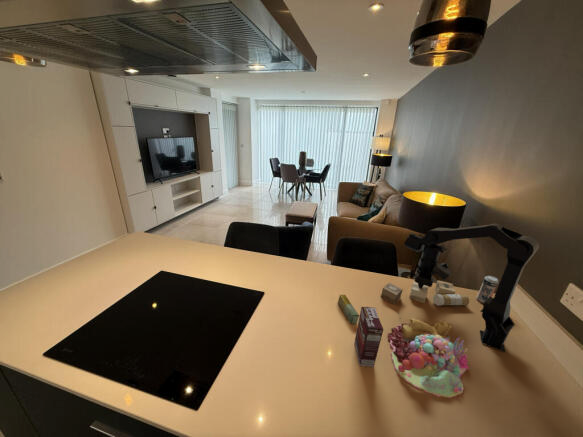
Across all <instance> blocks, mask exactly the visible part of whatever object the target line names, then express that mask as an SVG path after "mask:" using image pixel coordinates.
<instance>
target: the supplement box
mask: <svg viewBox="0 0 583 437" xmlns="http://www.w3.org/2000/svg"><path fill="white" fill-rule="evenodd" d="M359 311H360V313H359V318H358V321H357V327H356V333H355V337H354V343H353V344H354V347H355V351H356V355H357V361H358V365H359V366H362V367H375V365H376V361H377V360H376V359H377V356H378V352H379V347H380V345H381V341H382V336H383V332H384V328H383V325H382V322H381V320H380V318H379V315H378V312H377V311H378V310H377V309H376V307H371V306H361V307H360V310H359Z"/></svg>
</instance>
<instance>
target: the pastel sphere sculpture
mask: <svg viewBox="0 0 583 437" xmlns="http://www.w3.org/2000/svg"><path fill="white" fill-rule="evenodd" d="M451 328H452V326H451V325H450V324H448V323H447V322H445V321H443V320H440V321H438V322H435V323H434V325H433V326H430V325H429V324H428V323H425V322H423V321H422V320H419V319H417V318H409V324H408V323H405V322H403V323H401V324H397V325H396V327H391V328H390V330H391V331H392V332H389V333H387V339H388V341H390V342H389V346H390V347H391V348H392V351H391V353H390V356H391V361H392V364H393V367H394V370H395V372H396V373H397V374H398V375H399V377H400V378H402V379H403V380H404V381H405V382H406V383H409V384H410V385H412V387H415V388H416V389H418V390H422V391H424V392H425V393H427V394H432V395H434V396H435V397H439V398H440V397H444V398H448V399H450V398H453V397H456V396H459V395H461V394H462V393H463V391H464V383H463V382H462V380H461V377H462V375H464V374H465V372H466V371H468V370H469V366H468V363H469V362H468V359H467V355H466V353H467V351H468V349H469V348H466V349H465V348H464V342H465V341H464V339H463V340H461V342H459V340H460V336H458V337H457V338H456V339H455V340H454V341H450V339H451V338H450V337H451V336H450V335H449V336H447V335H448V333H449V332H450V330H451Z"/></svg>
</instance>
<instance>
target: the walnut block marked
mask: <svg viewBox="0 0 583 437" xmlns="http://www.w3.org/2000/svg"><path fill="white" fill-rule="evenodd" d="M402 293H403V288H401V287H399V286H397V285H396V284H394V283H391V282H388V283H387V284H386V285H385V286H383V287H382V291H381V294H380V297H381V298H382V299H384V300H386V301H388V302H389V303H391V304H393V305H395V304H396V303H397V302H398V301H400V299H401V298H402V297H401V296H402Z"/></svg>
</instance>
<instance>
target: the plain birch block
mask: <svg viewBox="0 0 583 437" xmlns="http://www.w3.org/2000/svg"><path fill="white" fill-rule="evenodd" d="M428 290H429V287H428V286H425V285H424V286H423V287H422V288H419V286H418V283H416V282H415V281H412V285H411V287H410V292H409V295H408V297H409V299H412V300H415V301H417V302H420V303H422V304H425V302H426V298H427V296H428Z"/></svg>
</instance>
